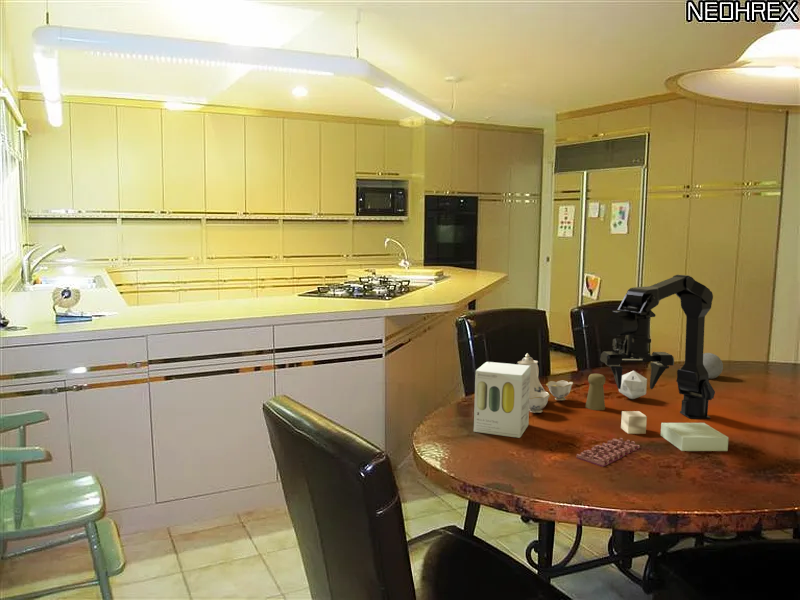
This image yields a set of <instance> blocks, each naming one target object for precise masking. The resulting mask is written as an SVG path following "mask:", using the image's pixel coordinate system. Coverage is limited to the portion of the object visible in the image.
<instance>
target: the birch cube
mask: <svg viewBox="0 0 800 600" xmlns="http://www.w3.org/2000/svg"><path fill="white" fill-rule="evenodd" d="M647 417H648V416H646V414H644V413H642V412H641V411H639V410H636V411H635V410H632V411H631V410H629V411H628V410H624V411H623V410H622V411H621V421H620V422H621V423H620V429H621V430H623V431H624V432H625V433H627V434H628V435H629V434H630V435H633V434H634V435H635V434H636V435H640V434H644V435H645V434H647V419H648V418H647Z"/></svg>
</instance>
